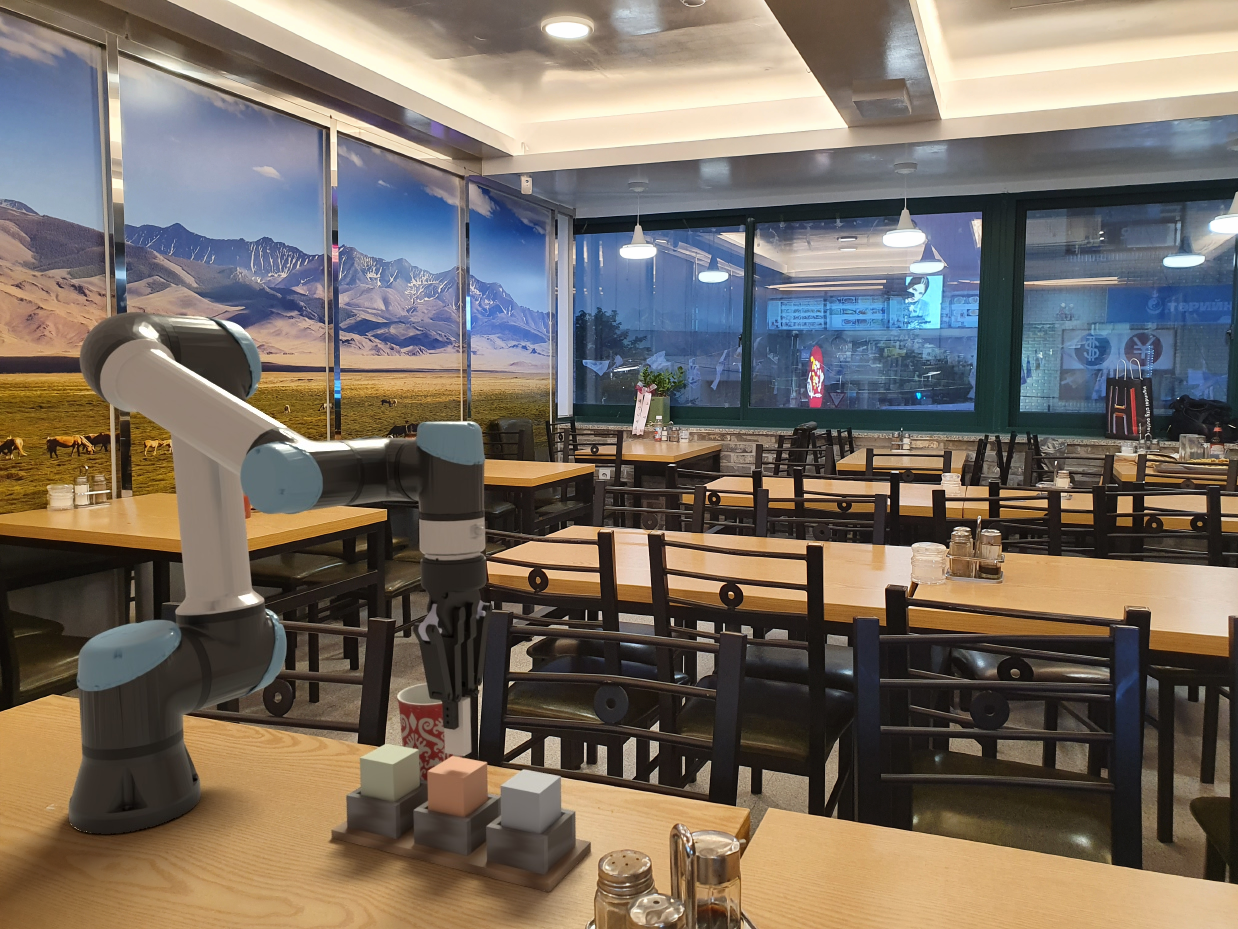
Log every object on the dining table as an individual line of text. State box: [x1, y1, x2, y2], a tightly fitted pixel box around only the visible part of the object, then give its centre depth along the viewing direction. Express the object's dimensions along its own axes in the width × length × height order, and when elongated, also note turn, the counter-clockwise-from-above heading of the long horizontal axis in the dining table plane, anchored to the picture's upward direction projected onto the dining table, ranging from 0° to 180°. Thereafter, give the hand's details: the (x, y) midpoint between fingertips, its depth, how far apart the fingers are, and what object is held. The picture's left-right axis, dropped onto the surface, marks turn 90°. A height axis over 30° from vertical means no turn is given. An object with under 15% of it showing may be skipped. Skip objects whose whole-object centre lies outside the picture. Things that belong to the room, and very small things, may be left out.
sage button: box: [359, 743, 420, 802], centre depth 112 cm, size 5×5×6 cm
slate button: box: [499, 769, 562, 834], centre depth 103 cm, size 5×5×6 cm
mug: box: [396, 682, 463, 781], centre depth 124 cm, size 13×9×14 cm
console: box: [330, 779, 592, 893], centre depth 108 cm, size 30×10×5 cm, turn 65°
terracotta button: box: [427, 756, 489, 818], centre depth 107 cm, size 5×5×6 cm
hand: (458, 752), depth 107 cm, fingers closed
